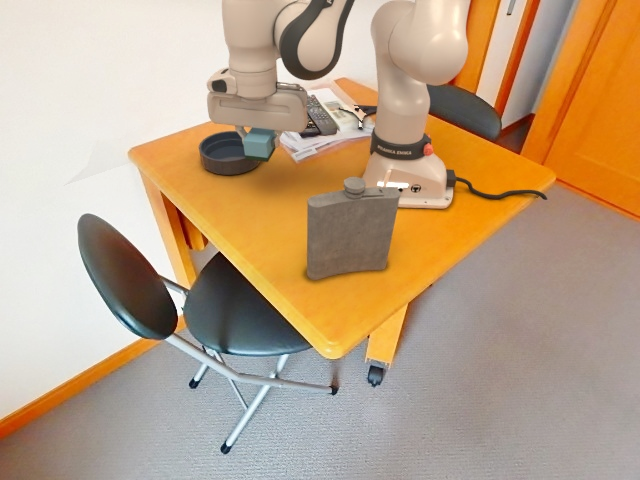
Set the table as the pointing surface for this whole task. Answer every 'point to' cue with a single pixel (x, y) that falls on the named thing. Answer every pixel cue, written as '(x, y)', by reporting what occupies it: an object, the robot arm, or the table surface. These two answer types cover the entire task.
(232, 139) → the bowl
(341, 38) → the robot arm
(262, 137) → the sponge
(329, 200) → the hip flask
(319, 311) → the table surface
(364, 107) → the bracket
